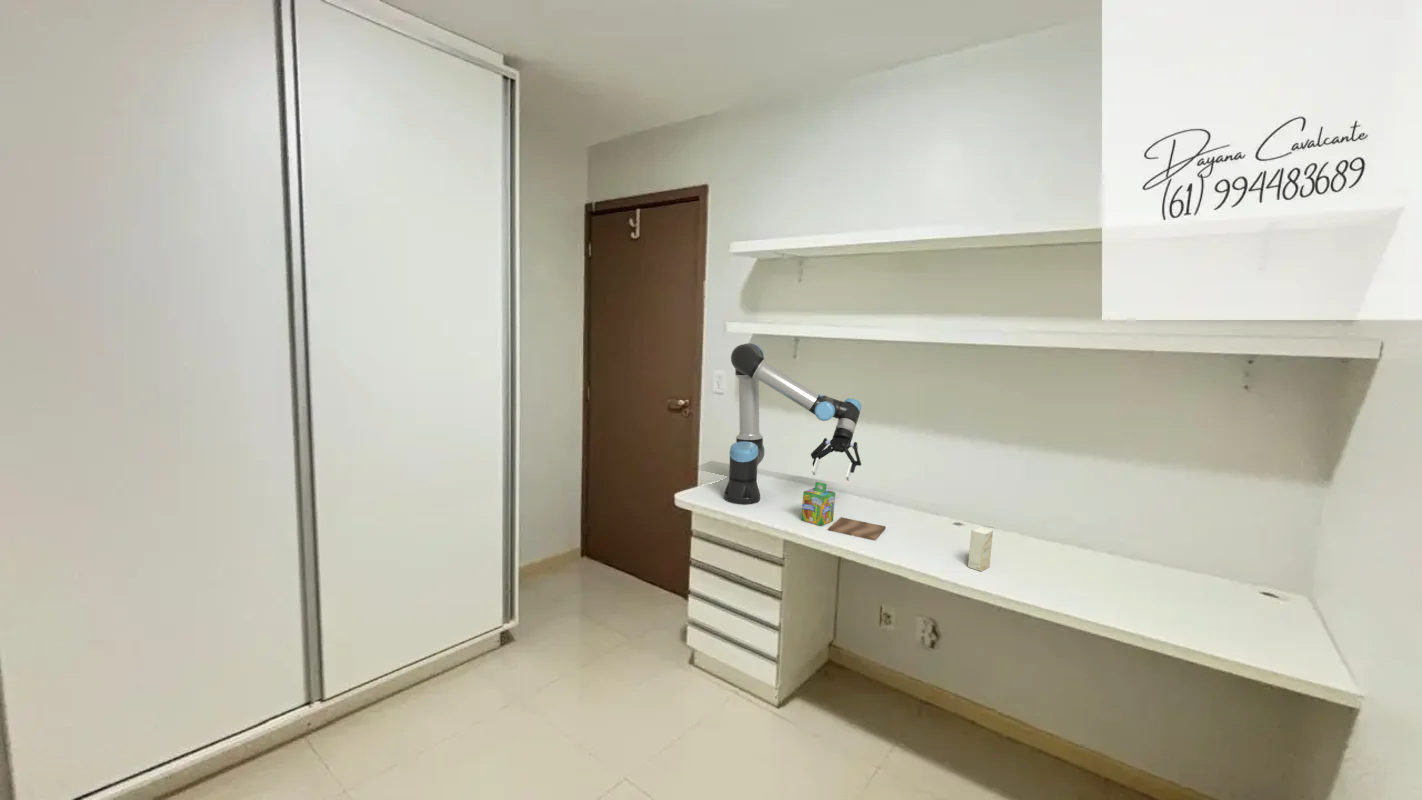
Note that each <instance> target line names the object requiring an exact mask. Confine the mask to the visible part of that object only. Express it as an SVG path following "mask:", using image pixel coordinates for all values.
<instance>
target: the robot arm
mask: <svg viewBox="0 0 1422 800" xmlns="http://www.w3.org/2000/svg"><path fill="white" fill-rule="evenodd" d="M730 361H731V362H730V363H731V365H732V366H733V368H734V370H735V373H734V374H735V376H736V378H738V394H739V395H738V397H739V398H738V403H739V405H738V407H739V408H738V410H739V411H738V412H739V416H738V417H739V433H738V434H737V435H736V437H735V440H736V442H734V443H732V444H731V446H730V448H729V471H728V475H729V477H728V482H727V485H726V487H725V490H724V496H723V498H724V500H725V501H726V502H729V503H732V504H737V505H738V504H739V505H751V504H756V503H759V502H760V501H761V493H760V489H759V485H758V482H757V480H758V467H759V464H760V463H761V462H762V461H763V460H764V456H765V451H766V450H765V447H764V437H763V435H762V434H761V433H760V382H761V383H763V384H765V385H767V386H768V387H769V388H771V389H773V390H774V391H776V392H778V393H779V394H780V395H781V394H782V395H783V396H785V397H786V398H788V399H789V400H791V401H792V402H793V403H795V404H797V405H799V406H801V407H802V408H804V409H805V410H806V411H809V413H811V414H813V415H814V416H815V417H816V419H818V420H819V421H822V422H826V421H829V420H831V419H832V418H835V419H838V420H837V422H836V426H835V429H834V432H833V435H832V438H831V440H829V439H828V438H826V437H824V438H823V440H822V442H821V443H820V444H819V445H818V446H817V447H815V449H814V450H813V451H812V452H811V453H810V456H811V459H813V461H812V471H811V472H812V475H813V476H816V474H817V472H818V468H819V465H820V460H821V459H823V458H824V457H825V456H827V455H829V454H831V453H833V452H836V453H841V454H842V453H845V455H846V457H847V458H848V459H849V460H850V462H849V465H848V468H847V472H846V474H845V478H846V479H845V480H846V481H848V482H849V481H850V479H851V476H852V474H854V473H855V470H856V468H857V466H858V467H860V466H862V462H861V458H860V455H859V450H858V449H859V445H858V442H856V441H854V442H852V440H853V437H854V433H855V430H856V428H857V424H858V421H859V417H860V415H861V411H862V404H861V403H862V402H860V401H859V400H858V399H856V398H853V397H852V398H850V397H849V398H845V400H844V401H842V400H838V399H835V398H833V397H829V396H827V395H824V394H821V393H820V394H819V393H816V392H814V391H813V390H811V389H809V388H808V387H806V386H805V385H803V384H802V383H800V382H799V381H797V380H795V379H793V378H792V377H790V376H789V375H787V374H785V373H784V372H783V371H781V370H779V369H777V368H776V367H774V366H773V365H771V364H769V363H768V362H767V360H766V358H765V355H764V352H763V350H762V348H761V347H760V346H759V345H757V344H755V343H749V342H748V343H742V344H739V345H737V346H736V347H735V348H733V350H732V352H731V356H730ZM850 448H852V449H853V451H854V456H855V458H856V460H855V458H854V457H853V455H852V453H851V452H850V450H849V449H850Z"/></svg>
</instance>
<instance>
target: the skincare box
mask: <svg viewBox="0 0 1422 800" xmlns="http://www.w3.org/2000/svg"><path fill="white" fill-rule="evenodd" d="M970 531H971V532H970V542H969V553H968V562H967V563H968V565H967V568H970V569H972V570H976V571H979V572H983V571H984V570H987V569H989V568H990V566H991V565H990V564H991V557H992V556H991V555H992V546H993V544H992V543H993V536H994V535H993V534H994V533H993V532H994V529H993V530H992V529H991V528H990V529H989V528H985V527H982V526H978V527H976V528H974V529H971V530H970Z"/></svg>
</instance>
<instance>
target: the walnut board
mask: <svg viewBox="0 0 1422 800" xmlns="http://www.w3.org/2000/svg"><path fill="white" fill-rule="evenodd" d="M886 528H887V527H886V525H882V524H881V525H880V524H876V523H871V522H866V521H862V520H856V519H852V518H847V517H841V516H840V518H839V519H837V520H836V521H834V523H832V525H830V526H829V527H828V531H831V532H834V533H838V534H843V535H848V536H852V537H857V538H861V539H867V540H871V541H876V540H877V539H879V537H880V536H881V535H882V534H883V533H884V531H885V530H886Z"/></svg>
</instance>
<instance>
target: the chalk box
mask: <svg viewBox="0 0 1422 800" xmlns="http://www.w3.org/2000/svg"><path fill="white" fill-rule="evenodd" d="M827 485H828V484H827V483H825V482H819V481H815V485H814V487H812V488H810V489H807V490H804V491H803V494H802V507H801V517H800V520H801V521H803V522H806V523H810V524H813V525H817V526H819V527H824V526H825V525H827V524H829V523H832V522H833V521H834V514H835V501H836V492H835V491H832V490H830V489H829V490H828V489H827ZM819 486H821V487H822V488H821V487H819Z"/></svg>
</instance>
